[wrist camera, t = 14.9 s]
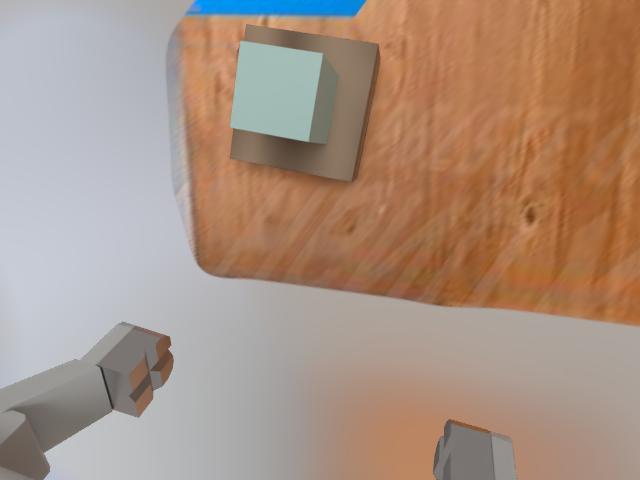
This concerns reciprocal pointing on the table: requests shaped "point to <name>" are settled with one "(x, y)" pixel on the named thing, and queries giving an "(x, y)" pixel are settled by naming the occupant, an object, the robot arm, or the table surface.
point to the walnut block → (347, 115)
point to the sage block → (283, 92)
